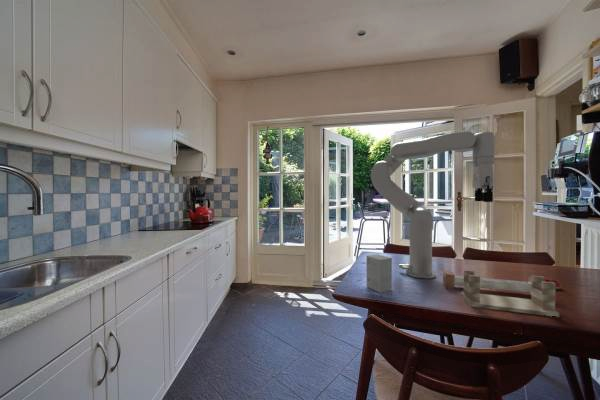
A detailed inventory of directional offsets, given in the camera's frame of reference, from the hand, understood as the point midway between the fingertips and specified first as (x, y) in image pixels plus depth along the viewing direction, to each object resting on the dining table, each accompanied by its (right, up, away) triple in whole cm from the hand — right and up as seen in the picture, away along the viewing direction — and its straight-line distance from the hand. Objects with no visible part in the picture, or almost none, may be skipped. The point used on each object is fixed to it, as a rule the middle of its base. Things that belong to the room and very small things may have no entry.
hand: (483, 201), depth 107 cm
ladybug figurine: (+21, -35, -5) cm, 41 cm away
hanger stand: (-9, -35, -22) cm, 43 cm away
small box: (-47, -36, -6) cm, 59 cm away
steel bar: (-4, -35, -10) cm, 37 cm away
